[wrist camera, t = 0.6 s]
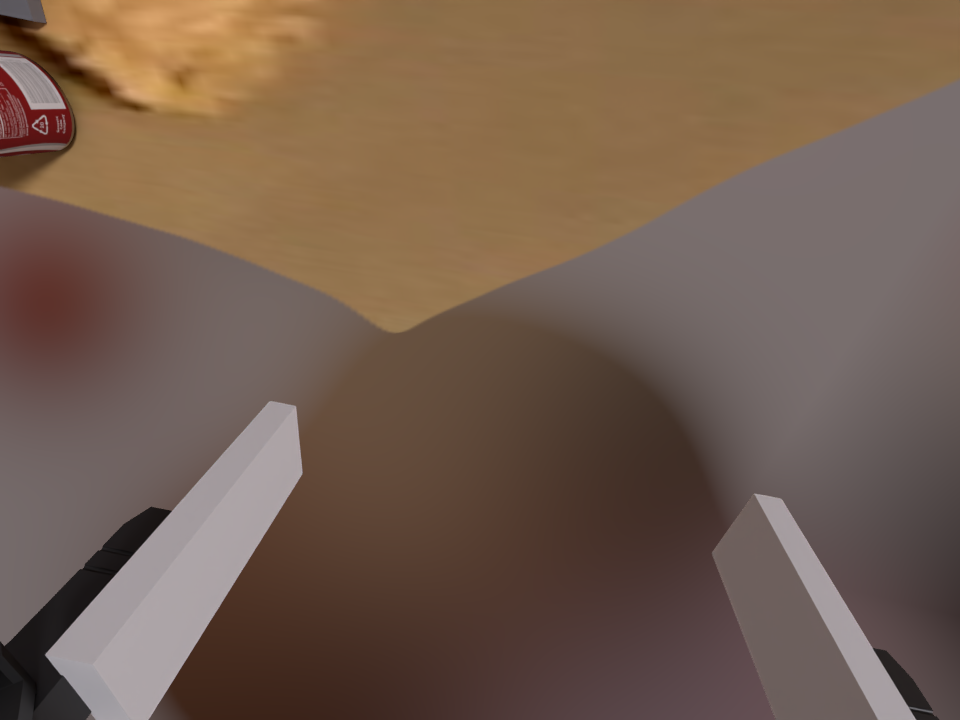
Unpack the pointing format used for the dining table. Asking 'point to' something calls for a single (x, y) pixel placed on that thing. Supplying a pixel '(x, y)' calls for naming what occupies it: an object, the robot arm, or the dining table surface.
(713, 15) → the dining table surface
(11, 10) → the board
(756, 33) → the dining table surface
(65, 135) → the soda can
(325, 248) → the dining table surface
